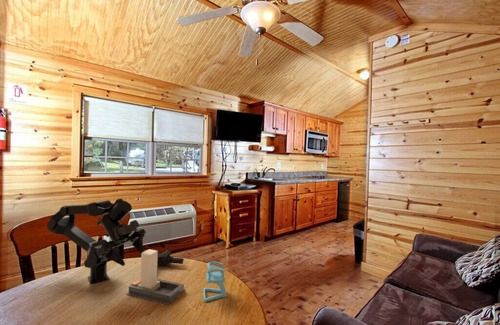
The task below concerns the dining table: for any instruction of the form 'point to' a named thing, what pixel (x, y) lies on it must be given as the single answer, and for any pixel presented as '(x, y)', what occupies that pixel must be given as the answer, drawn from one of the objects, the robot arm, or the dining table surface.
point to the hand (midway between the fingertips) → (134, 259)
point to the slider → (149, 270)
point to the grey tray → (157, 291)
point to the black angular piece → (168, 259)
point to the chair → (215, 280)
